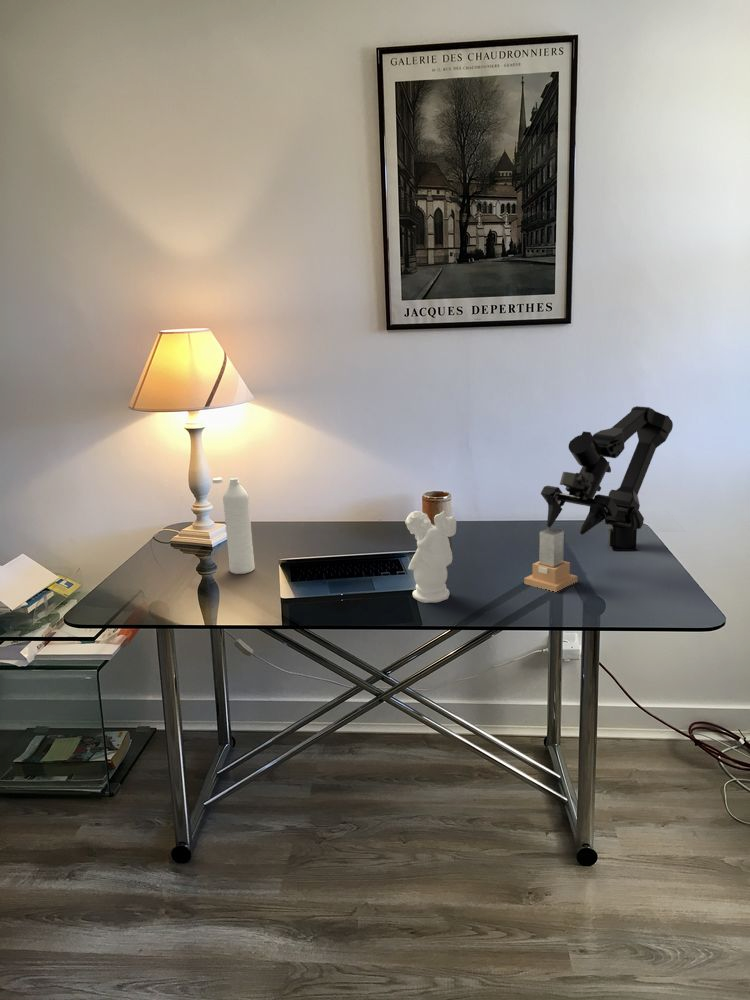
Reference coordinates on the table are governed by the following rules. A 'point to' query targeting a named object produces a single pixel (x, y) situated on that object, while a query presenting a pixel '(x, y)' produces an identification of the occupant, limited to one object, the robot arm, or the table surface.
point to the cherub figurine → (431, 555)
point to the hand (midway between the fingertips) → (564, 530)
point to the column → (551, 547)
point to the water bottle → (238, 527)
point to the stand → (550, 577)
